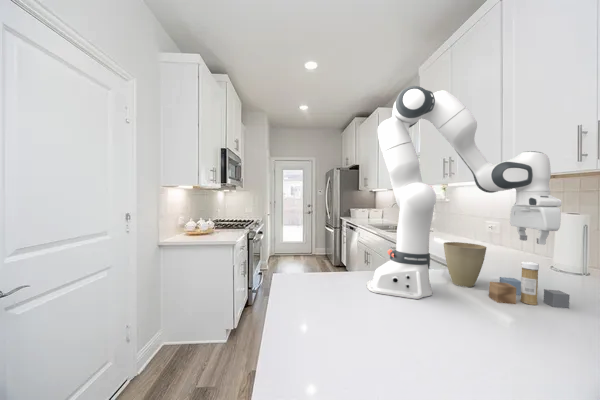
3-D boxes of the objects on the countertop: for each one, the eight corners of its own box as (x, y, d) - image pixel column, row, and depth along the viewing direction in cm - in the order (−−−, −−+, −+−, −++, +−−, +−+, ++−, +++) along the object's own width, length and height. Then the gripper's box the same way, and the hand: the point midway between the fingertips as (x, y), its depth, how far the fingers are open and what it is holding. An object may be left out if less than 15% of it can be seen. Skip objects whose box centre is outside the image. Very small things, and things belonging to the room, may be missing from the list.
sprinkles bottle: (539, 303, 94) (541, 263, 94) (534, 306, 91) (536, 264, 91) (523, 299, 97) (524, 260, 97) (517, 301, 95) (519, 261, 95)
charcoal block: (553, 307, 91) (553, 293, 91) (543, 302, 96) (543, 289, 96) (569, 308, 90) (569, 294, 90) (558, 303, 95) (559, 290, 95)
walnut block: (497, 302, 93) (497, 286, 93) (489, 297, 99) (489, 281, 99) (515, 304, 92) (516, 287, 92) (506, 298, 98) (507, 283, 98)
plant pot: (437, 278, 122) (438, 241, 122) (474, 280, 120) (476, 243, 120) (449, 288, 107) (451, 246, 107) (492, 292, 105) (494, 249, 105)
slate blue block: (506, 294, 103) (506, 280, 103) (499, 290, 108) (499, 277, 108) (521, 295, 102) (522, 281, 102) (513, 291, 107) (514, 278, 107)
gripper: (505, 200, 105) (504, 237, 105) (541, 200, 85) (541, 246, 85) (524, 201, 104) (523, 238, 104) (566, 200, 84) (565, 247, 84)
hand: (531, 242), depth 94 cm, fingers open, 8 cm apart
